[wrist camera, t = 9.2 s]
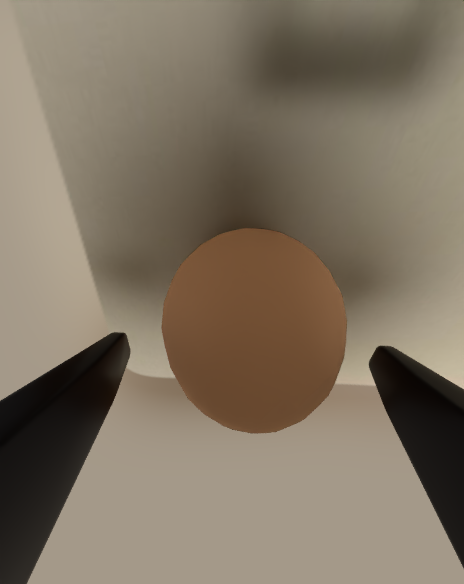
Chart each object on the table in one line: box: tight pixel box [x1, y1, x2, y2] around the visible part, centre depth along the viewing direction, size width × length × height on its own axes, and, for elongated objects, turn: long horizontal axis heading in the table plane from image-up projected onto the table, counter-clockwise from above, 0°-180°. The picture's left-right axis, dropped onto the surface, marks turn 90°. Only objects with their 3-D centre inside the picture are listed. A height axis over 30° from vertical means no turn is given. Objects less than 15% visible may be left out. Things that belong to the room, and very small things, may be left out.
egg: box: [162, 228, 347, 433], centre depth 9 cm, size 7×7×8 cm
